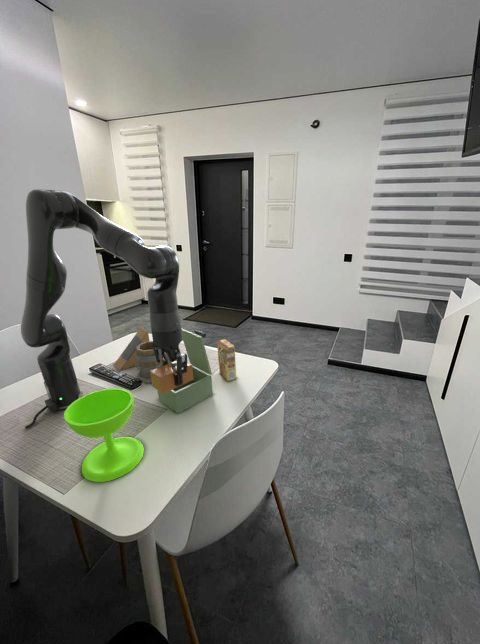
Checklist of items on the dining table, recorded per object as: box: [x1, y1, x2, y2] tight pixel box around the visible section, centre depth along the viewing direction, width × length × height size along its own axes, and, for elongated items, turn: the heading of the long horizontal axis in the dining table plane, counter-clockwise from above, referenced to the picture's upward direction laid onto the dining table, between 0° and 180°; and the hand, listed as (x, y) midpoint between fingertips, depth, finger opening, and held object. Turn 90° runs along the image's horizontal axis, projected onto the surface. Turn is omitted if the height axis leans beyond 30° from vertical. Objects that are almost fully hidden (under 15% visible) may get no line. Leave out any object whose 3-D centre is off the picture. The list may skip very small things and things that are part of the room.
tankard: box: [135, 340, 161, 384], centre depth 124 cm, size 20×13×15 cm, turn 148°
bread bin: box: [156, 366, 214, 414], centre depth 107 cm, size 16×13×8 cm
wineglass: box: [63, 387, 145, 483], centre depth 78 cm, size 16×16×18 cm
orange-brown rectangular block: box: [150, 361, 193, 394], centre depth 81 cm, size 10×6×5 cm, turn 138°
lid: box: [181, 327, 213, 376], centre depth 108 cm, size 16×13×5 cm
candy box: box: [216, 338, 237, 382], centre depth 120 cm, size 9×4×15 cm, turn 33°
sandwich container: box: [113, 326, 151, 371], centre depth 132 cm, size 9×15×15 cm, turn 132°
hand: (173, 380), depth 82 cm, fingers closed on orange-brown rectangular block, 5 cm apart
